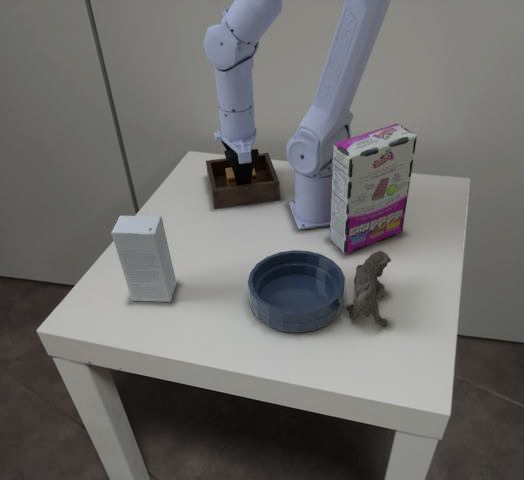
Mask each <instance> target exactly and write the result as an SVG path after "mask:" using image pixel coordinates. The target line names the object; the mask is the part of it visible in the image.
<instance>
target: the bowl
mask: <svg viewBox="0 0 524 480" xmlns="http://www.w3.org/2000/svg"><path fill="white" fill-rule="evenodd" d="M345 283H346V277H345V275H344V272H343V270H342V268H341V267H340V266H339V265H338V264H337V263H336V262H335V261H334V260H333V259H331V258H329V257H327V256H325V255H323V254H321V253H318V252H314V251H310V250H300V249H299V250H296V249H294V250H285V251H280V252H277V253H274V254H271V255H267V256H266V257H265V258H263V259H261V260H260V261H259V262H257V263H256V264H255V265H254V267H253V268H252V269H251V271H250V272H249V277H248V280H247V291H248V301H249V305H250V309H251V311H252V313H253V314H254V316H255V317H256V318H257V319H258V320H259V321H260V322H262V323H263V324H265V325H266V326H268V327H270V328H273V329H274V330H278V331H281V332H289V333H290V332H291V333H303V332H310V331H315V330H317V329H320V328H322V327H324V326H327V325H328V324H330V323H331V322H332V321H334V319H336V318H337V317H338V315H339V314H340V312H341V311H342V309H343V307H344V297H345V285H346V284H345Z"/></svg>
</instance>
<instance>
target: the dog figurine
mask: <svg viewBox="0 0 524 480" xmlns="http://www.w3.org/2000/svg"><path fill="white" fill-rule="evenodd" d="M390 262H392V258H391V257H390V256H389V255H388V253H385V252H384V251H382V250H377V251H375V252H373V253H371V254H370V255H369V256H368V257H367V258H366V259H365V260H364V262H363V263H362V264H358V265H356V267H355V275H354V278H353V284H354V287H353V288H354V289H353V291H354V298H353V300H352V304H349V305H348V306H347V307H346V309H347V311H348V312H349V315H351V318H352V320H354V319H356V318H357V317H358V316H359V314H362V315H363V317H365V318H370V317H371V316H372V318H373V319H374V321H375V322H376V323H378V324H379V325H383V326H387V325H388V324H389V322H388V320H387V319H386V318H383V317H382V316H381V313H380V309H379V300H381V298H384V297H385V296H386V295H387V291H386V288H385V285H384V284H383V283H381V281H379V279H378V278H380V277H382V276H383V273H384V269H385V268H387V266H388V264H389V263H390Z"/></svg>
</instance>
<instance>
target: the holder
mask: <svg viewBox="0 0 524 480" xmlns="http://www.w3.org/2000/svg"><path fill="white" fill-rule="evenodd" d="M205 166H206V173H207V174H206V175H207V180H208V184H209V189H210V195H211V200H212V205H213V209H214V210H217V209H225V208H232V207H238V206H247V205H254V204H261V203H268V202H274V201H280V199H281V198H280V197H281V194H280V193H281V191H280V190H281V189H280V188H281V187H280V180H279V177H278V175H277V172H276V169H275V167H274V164H273V162H272V159H271V156H270V154H269V152H264V153H263V152H262V153H259V156H258V159H257V161H256V163H255V165H254V170H255V173H256V182H257V183H252V184H245V185H237V186H230V187H228V186H227V180H226V172H225V168H231V166H230V164H229V163H228V161H227V159H226V157H224V158H216V159H208V160H205Z"/></svg>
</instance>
